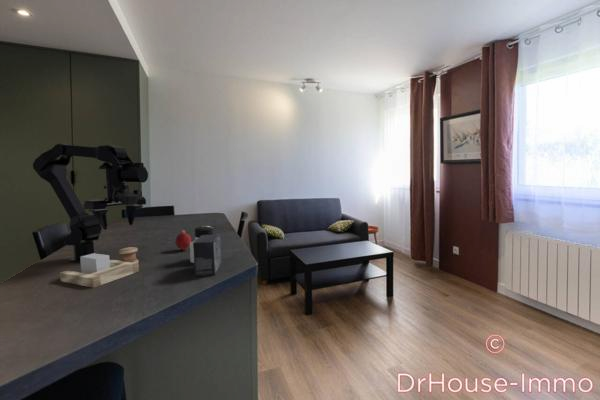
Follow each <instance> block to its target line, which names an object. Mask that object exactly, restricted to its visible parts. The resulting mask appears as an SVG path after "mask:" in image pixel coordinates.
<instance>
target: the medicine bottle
mask: <svg viewBox="0 0 600 400" xmlns="http://www.w3.org/2000/svg"><path fill="white" fill-rule="evenodd" d="M201 235H214V229H213V227H212V226H210V225H202V226H198V227H197V226H196V227H195V228H194V240H193V241H191V242H190V246H189V254H190V256H189V257H190V259H189V260H190V263H191V264H194V250H193V242H195V241H196V240H197V239H198V238H199V237H200V236H201Z"/></svg>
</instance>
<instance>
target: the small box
mask: <svg viewBox="0 0 600 400" xmlns="http://www.w3.org/2000/svg"><path fill="white" fill-rule="evenodd" d="M195 240H196V239H195ZM195 240H194V241H195ZM192 242H193V241H192ZM221 245H222V243H221V234H219V233H218V234H216V233H215V234H213V235H201V236H200V237H199V238H198V239H197V240H196V241H195V242H193V250H194V263H193V264H194V277H206V276H207V277H210V275H213V276H216V275H217V273H218V271H219V270H220V268H221V266H222V264H223V262H222V248H221Z"/></svg>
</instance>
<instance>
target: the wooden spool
mask: <svg viewBox="0 0 600 400" xmlns="http://www.w3.org/2000/svg"><path fill="white" fill-rule="evenodd" d="M138 251H139V248H138V247H134V246H132V247H131V246H130V247H124V248H121V249H118V254H120V255H121V261H125V262H131V263H138V264H139V259H138V258H137V254H136V253H137V252H138Z"/></svg>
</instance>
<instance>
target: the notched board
mask: <svg viewBox="0 0 600 400" xmlns="http://www.w3.org/2000/svg"><path fill="white" fill-rule="evenodd" d="M109 259H110V258H109ZM139 265H140V264H139V263H131V262H125V261H122V260H117V259H110V268H108V269H105V270H101V271H98V272H95V273H92V274H85V273H81V272H78V271H74V270H73V271H72V270H65V271H61V272H59V275H60V282H63V283H67V284H72V285H73V284H74V285H79V286H82V287H84V286H85V287H88V288H97V287H99V286H102V285H105V284H108V283H110V282H113V281H115V280H119V279H122V278H124V277H127V276H130V275H133V274H135V273H137V272H138V273H139V272H140V268H139V267H140V266H139Z"/></svg>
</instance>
